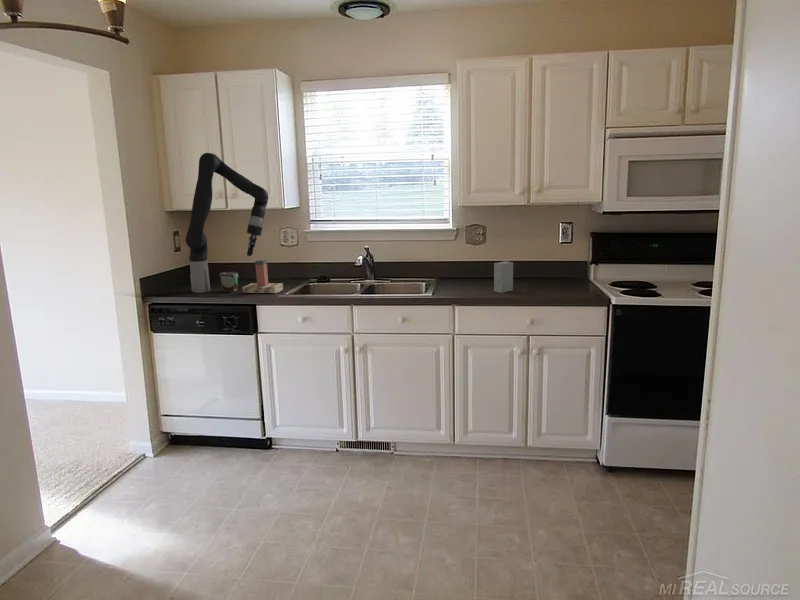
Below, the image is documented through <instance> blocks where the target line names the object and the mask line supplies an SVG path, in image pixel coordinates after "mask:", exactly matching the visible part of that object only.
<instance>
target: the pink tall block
mask: <svg viewBox="0 0 800 600" xmlns="http://www.w3.org/2000/svg"><path fill="white" fill-rule="evenodd" d="M254 263H255V265H254V266H255V274H256V275H255V276H256V283H257V286H267V285H268V283H269V276H268V263H267V259H258V260H255V262H254Z"/></svg>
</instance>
